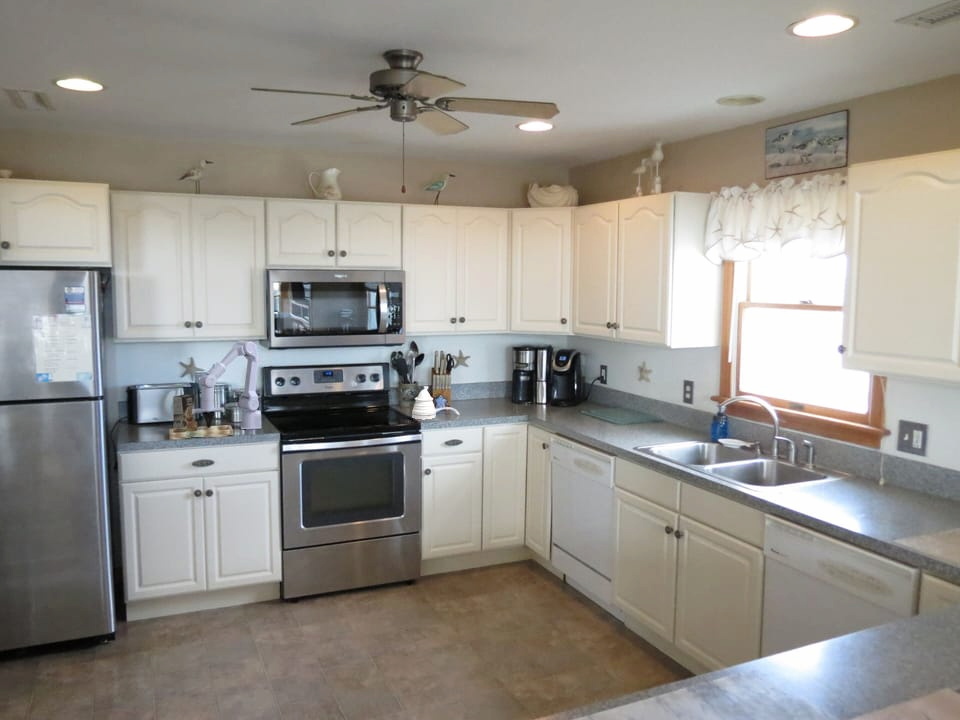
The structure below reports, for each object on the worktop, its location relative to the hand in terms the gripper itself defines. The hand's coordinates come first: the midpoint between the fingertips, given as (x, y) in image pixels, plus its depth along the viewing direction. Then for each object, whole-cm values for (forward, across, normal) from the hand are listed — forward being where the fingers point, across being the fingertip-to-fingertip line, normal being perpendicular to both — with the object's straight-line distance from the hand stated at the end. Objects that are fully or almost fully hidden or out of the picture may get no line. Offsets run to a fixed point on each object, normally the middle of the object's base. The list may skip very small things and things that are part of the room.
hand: (208, 427), depth 355 cm
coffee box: (+4, -10, +21) cm, 24 cm away
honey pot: (+4, +111, +4) cm, 111 cm away
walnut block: (+1, -8, 0) cm, 8 cm away
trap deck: (+3, -3, 0) cm, 5 cm away
